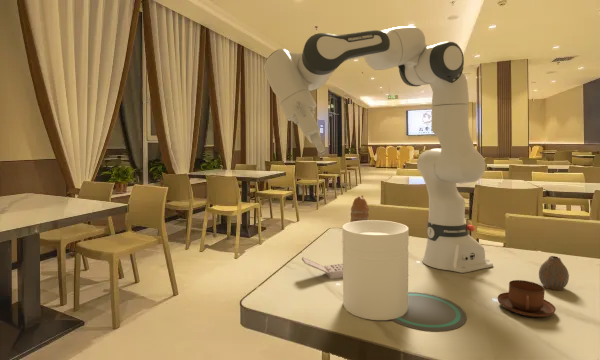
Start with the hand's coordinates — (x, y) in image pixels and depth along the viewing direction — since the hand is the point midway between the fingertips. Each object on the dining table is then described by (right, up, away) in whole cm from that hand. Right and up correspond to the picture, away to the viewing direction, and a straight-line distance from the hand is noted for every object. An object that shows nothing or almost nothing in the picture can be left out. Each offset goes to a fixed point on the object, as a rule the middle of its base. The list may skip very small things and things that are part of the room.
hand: (322, 152), depth 96 cm
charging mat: (+23, -39, -5) cm, 45 cm away
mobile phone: (+7, -37, +15) cm, 41 cm away
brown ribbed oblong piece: (+20, -32, +62) cm, 72 cm away
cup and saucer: (+49, -40, -8) cm, 64 cm away
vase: (+66, -38, +5) cm, 76 cm away
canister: (+13, -39, -6) cm, 42 cm away
